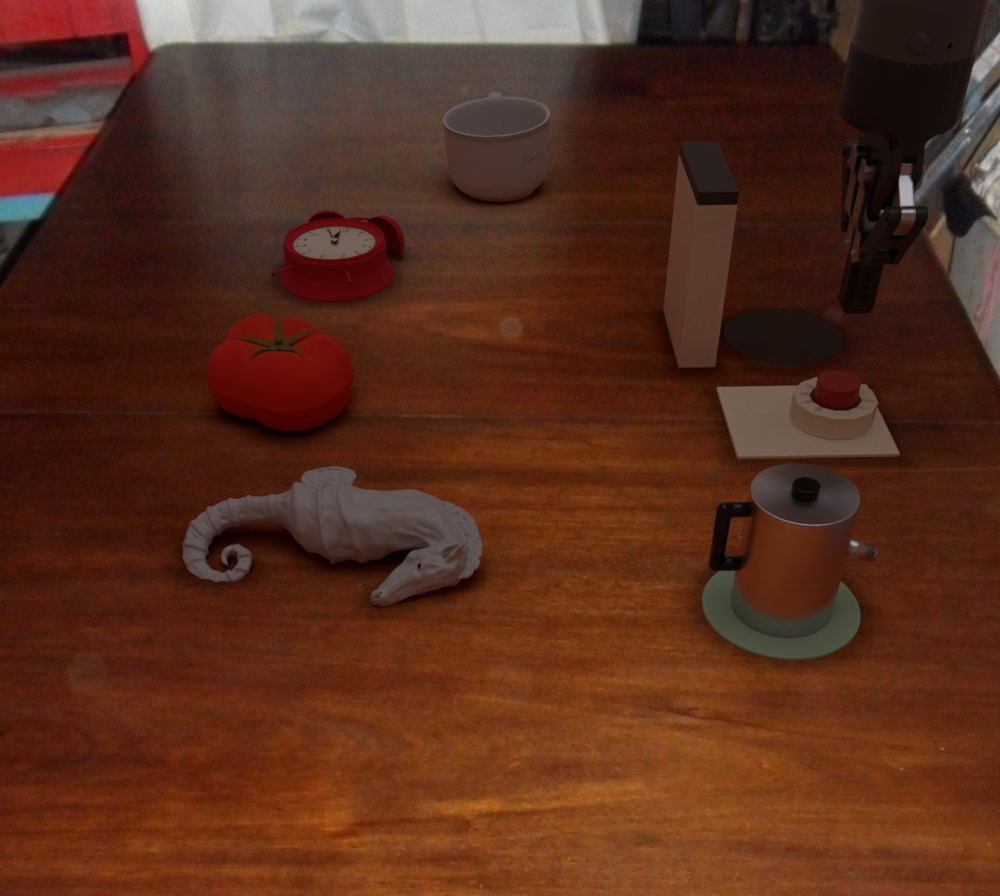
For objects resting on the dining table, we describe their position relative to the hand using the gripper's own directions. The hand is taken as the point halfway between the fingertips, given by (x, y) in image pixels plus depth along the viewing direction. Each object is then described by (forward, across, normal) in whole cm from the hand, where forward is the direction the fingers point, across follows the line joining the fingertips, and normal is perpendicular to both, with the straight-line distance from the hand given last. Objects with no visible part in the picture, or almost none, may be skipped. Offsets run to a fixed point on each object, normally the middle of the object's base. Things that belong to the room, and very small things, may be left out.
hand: (854, 308), depth 84 cm
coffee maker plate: (+10, +14, +1) cm, 17 cm away
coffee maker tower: (+10, +14, +9) cm, 19 cm away
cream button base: (+10, 0, +2) cm, 10 cm away
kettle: (+9, -22, +8) cm, 25 cm away
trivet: (+10, -22, +8) cm, 25 cm away
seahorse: (+10, -16, +37) cm, 41 cm away
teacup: (+10, +48, +24) cm, 55 cm away
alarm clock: (+10, +28, +39) cm, 49 cm away
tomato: (+10, +4, +42) cm, 43 cm away
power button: (+7, 0, 0) cm, 7 cm away
